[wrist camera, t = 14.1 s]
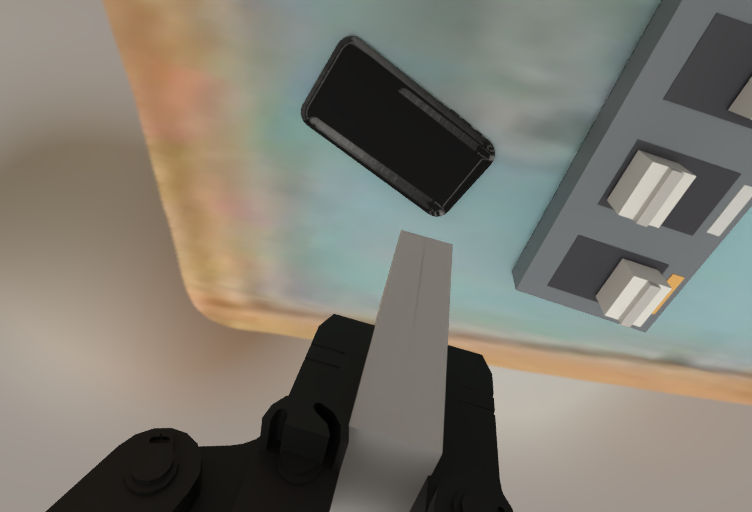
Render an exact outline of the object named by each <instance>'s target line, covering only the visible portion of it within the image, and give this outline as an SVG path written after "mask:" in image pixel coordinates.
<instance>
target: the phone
mask: <svg viewBox="0 0 752 512" xmlns="http://www.w3.org/2000/svg"><path fill="white" fill-rule="evenodd" d="M301 116H302V119H303V121H304V122H305V123H306V124H307V125H308V126H309V127H310V128H312V129H313V130H315V131H316V132H317V133H319V134H320V135H321V136H323V137H324V138H325V139H327V140H328V141H330V142H331V143H332V144H334V145H335V146H336V147H338V148H339V149H341V150H342V151H343V152H345V153H346V154H347V155H349V156H350V157H351V158H353V159H354V160H356V161H357V162H358V163H360V164H361V165H362V166H364V167H365V168H367V169H368V170H369V171H371V172H372V173H373V174H375V175H376V176H377V177H379V178H380V179H382V180H383V181H384V182H386V183H387V184H388V185H390V186H391V187H392V188H394V189H395V190H397V191H398V192H399V193H401V194H402V195H403V196H405V197H406V198H408V199H409V200H410V201H412V202H413V203H414V204H416V205H417V206H418V207H420V208H421V209H423V210H424V211H425V212H427V213H428V214H430V215H432V216H436V217H437V216H442V215H445V214H446V213H447V212H448V211H449V210H450V209H451V208H452V207H453V205H454V204H455V203H456V202H457V201H458V200H459V199H460V198H461V197H462V196H463V194H464V193H465V192H466V191H467V190H468V189H469V188H470V187H471V186H472V185H473V183H474V182H475V181H476V180H477V179H478V178H479V177H480V176H481V175H482V174H483V173H484V171H485V170H486V169H487V168H488V167H489V166H490V165H491V164H492V162H493V161H494V157H495V151H494V148H493V145H492V144H491V143H490V142H489V141H488V140H487V139H486V138H484V137H483V136H482V134H480V133H479V132H478V131H476V130H474V129H473V128H472V126H471V125H469V124H468V123H467V122H466V121H464V120H463V119H460V118H459V115H457V114H456V113H455V112H454V111H452V110H449V109H448V108H447V107H445V106H444V105H443V104H442V103H440V102H439V101H438V100H436V99H435V98H434V97H433V96H431V95H430V94H429V93H428V92H426V91H425V90H424V89H423V88H421V87H420V86H419V85H418V84H416V83H415V82H414V81H413V80H411V79H410V78H409V77H408V76H406V75H405V74H404V73H403V72H401V71H400V70H399V69H397V68H396V67H395V66H394V65H392V64H391V63H390V62H389V61H387V60H386V59H385V58H384V57H382V56H381V55H380V54H379V53H377V52H376V51H375V50H374V49H372V48H371V47H370V46H369V45H367V44H366V43H365V42H363V41H362V40H361V39H359V38H357V37H354V36H350V37H346V38H344V39H342V40H341V41H340V42H339V43H338V45H337V46H336V48H335V50H334V52H333V53H332V55H331V57H330V58H329V60H328V62H327V64H326V65H325V67H324V69H323V71H322V72H321V74H320V76H319V77H318V79H317V81H316V83H315V84H314V86H313V88H312V90H311V91H310V93H309V95H308V97H307V98H306V100H305V102H304V103H303V105H302V108H301Z"/></svg>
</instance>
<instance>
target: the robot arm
mask: <svg viewBox="0 0 752 512" xmlns="http://www.w3.org/2000/svg"><path fill="white" fill-rule="evenodd" d="M451 265H452V244H449V243H446V242H442V241H439V240H435V239H431V238H428V237H424V236H421V235H417V234H413V233H410V232H406V231H403V230H401V233H400V236H399V240H398V243H397V247H396V250H395V254H394V257H393V261H392V264H391V267H390V271H389V274H388V278H387V281H386V285H385V288H384V292H383V295H382V299H381V302H380V306H379V310H378V313H377V317H376V321H375V324H374V325H371V324H368V323H364V322H361V321H357V320H354V319H350V318H347V317H343V316H340V315H336V314H333V315H332V316H331V317H330V318H328V319H327V320H326V321H325V322H323V323H322V324H321V325H320V326H319V327H318V330H317V332H316V334H315V336H314V339H313V341H312V344H311V346H310V348H309V350H308V353H307V355H306V357H305V360H304V362H303V364H302V366H301V369H300V371H299V373H298V375H297V378H296V380H295V382H294V385H293V387H292V389H291V392H290V394H289V396H285V397H284V398H282V399H281V400H279V401H277V402H276V403H274V404H273V405H271V407H270V408H269V409H268V411H267V412H266V414H265V415H264V416H263V418H262V426H261V435H260V437H259V438H257V439H255V440H253V441H250V442H247V443H244V444H238V445H231V446H202V447H198V444H197V443H196V442H195V441H194V440H193V439H192V438H191V437H190V436H189V435H188V434H187V433H184V432H182V431H179V430H175V429H173V428H154V429H151V430H148V431H145V432H142V433H139V434H136V435H134V436H133V437H131V438H130V439H128V440H127V441H125V442H124V443H122V444H121V445H119V446H118V447H117V448H116V449H115V450H113V451H112V452H111V453H110V454H109V455H108V456H107V457H106V458H105V459H103V460H102V461H101V462H100V463H99V464H98V465H97V466H96V467H95V468H94V469H92V470H91V471H90V472H89V473H88V474H87V475H86V476H85V477H83V478H82V479H81V480H80V481H79V482H78V483H77V484H76V485H75V486H74V487H72V488H71V489H70V490H69V491H68V492H67V493H66V494H65V495H64V496H62V498H60V499H59V500H58V501H57V502H56V503H55V504H54V505H53V506H51V507H50V508H49V509H48V510H47V511H46V512H513V510H512V508H511V506H510V504H509V503H508V501H507V500H506V498H505V496H504V495H503V492H502V489H501V484H500V478H499V465H498V450H497V436H496V422H495V415H494V411H495V408H494V398H493V380H492V373H491V371H490V369H489V368H488V365H487V364H486V362H485V360H484V358H483V356H482V355H480V354H477V353H473V352H470V351H467V350H463V349H460V348H456V347H453V346H449V345H448V327H449V306H450V285H451Z"/></svg>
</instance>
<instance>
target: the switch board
mask: <svg viewBox="0 0 752 512" xmlns="http://www.w3.org/2000/svg"><path fill="white" fill-rule="evenodd" d="M751 77H752V0H662V1H661V3H660V5H659V7H658V8H657V10H656V12H655V14H654V16H653V17H652V19H651V21H650V23H649V25H648V27H647V28H646V30H645V32H644V34H643V36H642V37H641V39H640V41H639V43H638V45H637V46H636V48H635V50H634V52H633V54H632V55H631V57H630V59H629V61H628V63H627V64H626V66H625V68H624V70H623V72H622V74H621V75H620V77H619V79H618V81H617V83H616V84H615V86H614V88H613V90H612V92H611V93H610V95H609V97H608V99H607V101H606V102H605V104H604V106H603V108H602V110H601V111H600V113H599V115H598V117H597V119H596V121H595V122H594V124H593V126H592V128H591V130H590V131H589V133H588V135H587V137H586V139H585V140H584V142H583V144H582V146H581V148H580V149H579V151H578V153H577V155H576V157H575V158H574V160H573V162H572V164H571V166H570V168H569V169H568V171H567V173H566V175H565V177H564V178H563V180H562V182H561V184H560V186H559V187H558V189H557V191H556V193H555V195H554V196H553V198H552V200H551V202H550V204H549V205H548V207H547V209H546V211H545V213H544V215H543V216H542V218H541V220H540V222H539V224H538V225H537V227H536V229H535V231H534V233H533V234H532V236H531V238H530V240H529V242H528V243H527V245H526V247H525V249H524V251H523V252H522V254H521V256H520V258H519V260H518V262H517V263H516V265H515V267H514V269H513V271H512V274H513V279H514V284H515V288H516V290H518V291H521V292H524V293H527V294H530V295H533V296H536V297H539V298H542V299H545V300H548V301H552V302H555V303H558V304H561V305H564V306H567V307H570V308H573V309H576V310H579V311H582V312H585V313H588V314H591V315H594V316H597V317H600V318H603V319H606V320H609V321H612V322H615V323H618V324H620V323H619V321H618V320H617V319H614V318H611V317H608V316H605V315H604V313H603V311H602V309H601V307H600V305H599V302H598V300H597V298H596V295H597V294H598V292H599V291H600V289H601V288H602V287H603V285H604V284H605V282H606V281H607V280H608V278H609V277H610V275H611V274H612V273H613V271H614V270H615V268H616V267H617V266H618V264H619V263H620V261H621V260H622V258H623V259H626V260H629V261H632V262H635V263H638V264H641V265H644V266H647V267H650V268H653V269H656V270H658V271H659V272H660V273H661V275H662V276H663V277H664V279H665V280H666V281H667V283H668V284H669V285H670V287H671V288H672V289H671V290H670V292H669V293H668V294H667V295H666V296H665V298H664V299H663V300H662V301H661V303H660V304H659V305H658V306H657V307H656V309H655V310H654V311H653V312H652V314H651V315H650V316H649V317H648V318H647V320H646V321H645V322H644V323H643V324H642V326H641V327H638V326H635V325H632V326H631V328H634V329H637V330H640V331H643V332H646V331H647V330H648V329H649V328H650V326H651V325H652V324H653V323H654V322H655V320H656V319H657V318H658V317H659V316H660V314H661V313H662V312H663V311H664V310H665V308H666V307H667V306H668V305H669V304H670V302H671V301H672V300H673V299H674V298H675V297H676V295H677V294H678V293H679V292H680V291H681V289H682V288H683V287H684V286H685V285H686V283H687V282H688V281H689V280H690V279H691V277H692V276H693V275H694V274H695V273H696V271H697V270H698V269H699V268H700V267H701V266H702V264H703V263H704V262H705V261H706V260H707V258H708V257H709V256H710V255H711V254H712V252H713V251H714V250H715V249H716V248H717V246H718V245H719V244H720V243H721V242H722V240H723V239H724V238H725V237H726V236H727V235H728V233H729V232H730V231H731V230H732V229H733V227H734V226H735V225H736V224H737V223H738V221H739V220H740V219H741V218H742V217H743V215H744V214H745V213H746V212H747V211H748V209H749V208H750V207H751V206H752V120H751V119H749V118H746V117H744V116H741V115H739V114H736V113H734V112H731V111H729V110H728V109H729V108H730V106H731V105H732V104H733V102H734V101H735V99H736V98H737V97H738V95H739V94H740V92H741V91H742V90H743V88H744V87H745V85H746V84H747V83H748V81H749V80H750V78H751ZM638 150H640V151H643V152H646V153H649V154H652V155H655V156H658V157H661V158H664V159H667V160H670V161H673V162H676V163H679V164H680V165H682V166H683V167H685V168H686V169H687V170H689V171H690V172H691V173H693V174H694V175H695V176H696V178H695V179H694V181H693V182H692V183H691V185H690V186H689V187H688V189H687V190H686V191H685V193H684V194H683V196H682V197H681V198H680V200H679V201H678V202H677V204H676V205H675V206H674V208H673V209H672V211H671V212H670V213H669V215H668V216H667V217H666V219H665V220H664V222H663V223H662V224H661V226H660V227H659V228H657V227H654V226H651V225H648V226H647V227H645V226H642V225H639V224H636V223H635V222H634V220H632V219H629V218H626V217H623V216H620V215H618V214H617V213H616V211H615V210H614V209H613V207H612V206H611V205H610V204H609V202H608V201H607V199H608V197H609V196H610V194H611V193H612V191H613V190H614V188H615V186H616V185H617V183H618V182H619V180H620V178H621V177H622V175H623V174H624V172H625V170H626V169H627V167H628V166H629V164H630V163H631V161H632V159H633V158H634V156H635V155H636V153H637V151H638Z"/></svg>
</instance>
